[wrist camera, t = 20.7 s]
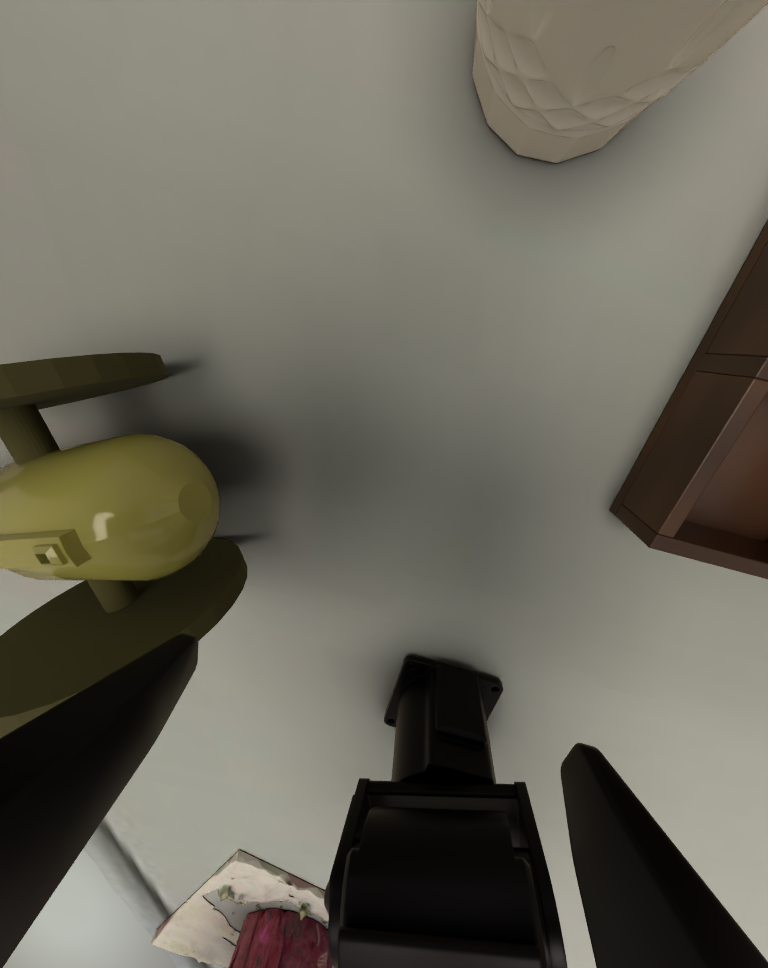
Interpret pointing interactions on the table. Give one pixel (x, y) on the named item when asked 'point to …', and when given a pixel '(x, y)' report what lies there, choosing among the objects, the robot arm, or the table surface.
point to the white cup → (588, 64)
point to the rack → (713, 442)
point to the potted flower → (251, 921)
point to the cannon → (101, 536)
